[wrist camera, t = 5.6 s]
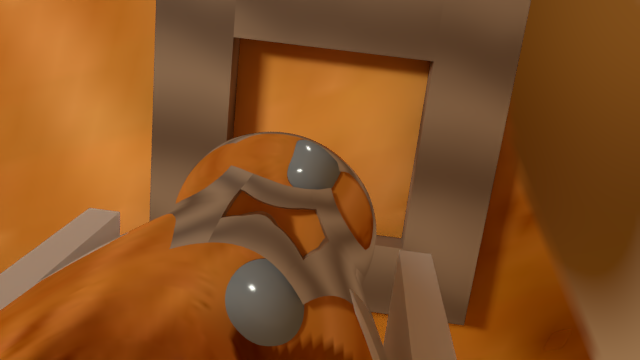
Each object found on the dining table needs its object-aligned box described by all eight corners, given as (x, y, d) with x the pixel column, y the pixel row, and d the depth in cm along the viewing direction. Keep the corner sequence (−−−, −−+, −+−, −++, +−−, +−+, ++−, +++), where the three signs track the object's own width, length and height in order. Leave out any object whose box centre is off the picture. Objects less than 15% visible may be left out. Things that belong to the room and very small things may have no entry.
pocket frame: (168, -54, 29) (157, -58, 28) (526, -14, 28) (534, -15, 27) (157, 268, 35) (147, 278, 33) (460, 311, 34) (463, 325, 32)
